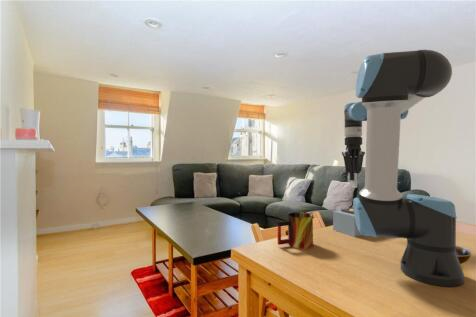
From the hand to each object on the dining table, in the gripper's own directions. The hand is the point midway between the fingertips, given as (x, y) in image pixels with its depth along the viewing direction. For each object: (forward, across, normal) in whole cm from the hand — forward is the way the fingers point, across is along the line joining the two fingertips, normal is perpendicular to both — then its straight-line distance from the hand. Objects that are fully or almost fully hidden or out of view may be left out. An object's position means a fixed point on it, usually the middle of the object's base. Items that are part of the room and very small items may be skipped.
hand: (353, 187), depth 121 cm
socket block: (+21, 0, 0) cm, 21 cm away
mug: (+21, -35, -2) cm, 41 cm away
